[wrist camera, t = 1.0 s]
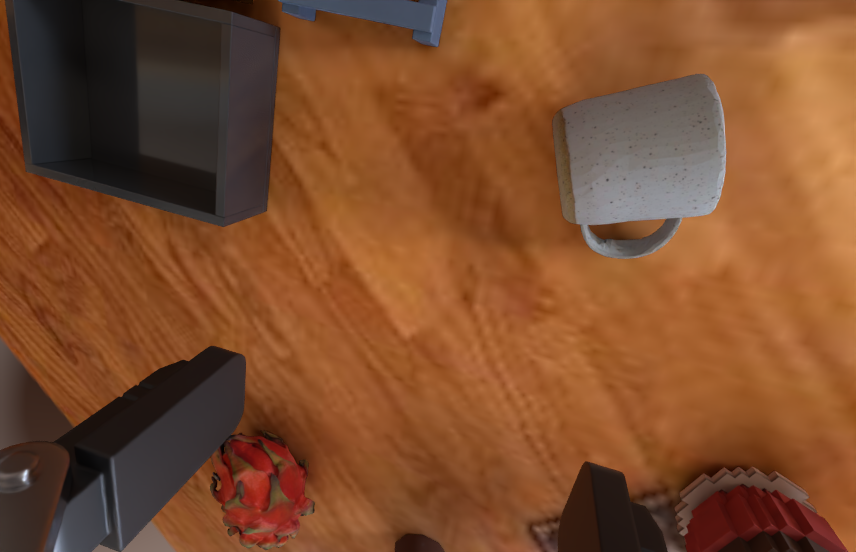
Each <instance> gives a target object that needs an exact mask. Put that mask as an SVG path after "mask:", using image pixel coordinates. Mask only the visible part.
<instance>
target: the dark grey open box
mask: <svg viewBox="0 0 856 552" xmlns="http://www.w3.org/2000/svg"><path fill="white" fill-rule="evenodd" d="M5 5H6V13H7V21H8V30H9V38H10V46H11V54H12V62H13V71H14V79H15V87H16V95H17V103H18V112H19V120H20V128H21V136H22V144H23V153H24V161H25V169H26V172H29V173H33V174H36V175H40V176H44V177H47V178H51V179H54V180H58V181H61V182H65V183H69V184H72V185H76V186H79V187H83V188H86V189H90V190H93V191H97V192H101V193H104V194H108V195H111V196H115V197H118V198H122V199H126V200H129V201H133V202H136V203H140V204H143V205H147V206H150V207H154V208H158V209H161V210H165V211H168V212H172V213H175V214H179V215H183V216H186V217H190V218H193V219H197V220H200V221H204V222H208V223H211V224H215V225H218V226H222V227H225V226H228V225H230V224H233V223H236V222H239V221H241V220H244V219H247V218H250V217H252V216H255V215H258V214H260V213H263V212H266V211H267V200H268V187H269V174H270V160H271V147H272V134H273V120H274V107H275V94H276V80H277V67H278V54H279V40H280V27H277V26H274V25H271V24H268V23H265V22H262V21H259V20H256V19H253V18H250V17H247V16H244V15H241V14H238V13H235V12H231V11H227V10H222V9H217V8H212V7H208V6H203V5H198V4H194V3H189V2H184V1H179V0H5Z"/></svg>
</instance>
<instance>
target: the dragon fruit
mask: <svg viewBox="0 0 856 552" xmlns="http://www.w3.org/2000/svg"><path fill="white" fill-rule="evenodd" d="M260 431H261V432H262V433H263V435H264V436H265V438H266V439H265V438H264V437H262V436H245V435H243V434H242V433H239V434H237V435H230V436H229V437H228V438H227V439H226V440H225V442H224V443H223V444H222V445H221V446H220V447H219V448H218V449H217V450H216V451H215V452H214V453H213V454H212V455H211V460H213V461H212V464H213V466H214V468H215V470H216V472H217V473H214V472H213V476H214V477H213V476H212V481H213V483H212V484H211V486H210V491H211V493H212V495H213V497H214V498H215V499H216V500H217V501H218V502H219V503H221V504H222V507H221V509H222V511H223V512H225V513H226V515H225V516H224V517H223V523H224V524H225V526H228V527H231V528H230V529H228V534H229V536H232V535H234V534H235V533H237V532H239V534H240V537H239V541H240V543H241V545H242V546H244V547H246V548H251V547H253V546H254V545H255V544H256V545H258V546H259V547H260V548H261V547H262V548H263V549H265V550H268V549H270V548H272V547H273V546H275V547H278V548H279V547H281V546H283V545H284V544H285V543H286V542H287V540H288V535H291V536H292V538H295V536H296V535H297V533H298V532H299V530H300V523H299V521H298V518H299V516H304V515H305V516H306V515H310V514H313V513H314V505H315V502H314V501H312V500H311V499H308V498H305V496H304V490H305V482H306V478H307V474H308V466H309V463H308V461H307V460H306V459H304V460H300V461H299V464H296V461H295V459H294V458H293V456H292V455H291V453H290V451H289V449H288V447H287V445H286V444H285V443H283V439H282V438H280V437H278V436H276V435H274V434H272V433H269V432H267V431H265V430H264V431H262V430H260ZM228 440H231V441H230V443H229V442H228ZM224 447H225V452H224ZM216 479H217V480H219V481H220V480H221V483H222V486H221V489H220V490H219V491H217V490H216V487H217V480H216Z"/></svg>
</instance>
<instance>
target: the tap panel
mask: <svg viewBox="0 0 856 552" xmlns="http://www.w3.org/2000/svg"><path fill="white" fill-rule="evenodd" d="M233 1H238V2H243V3H248V4H253V0H233Z"/></svg>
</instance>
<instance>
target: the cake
mask: <svg viewBox="0 0 856 552" xmlns="http://www.w3.org/2000/svg"><path fill="white" fill-rule="evenodd" d="M679 495H680V497H681V500H682V502H681V503H679V504H678V505H677V506H676V507H674V508H675V511H676V514H677V516H676V517H675V518H676V520H677V523H678V525H677V529H678V532H679V533H680V534H681V535H683V536H684V537H685V539H684V540H685V543H686V545H685V547H686V550H687V552H848V551H847V549H846V548H845V546H844V545H843V544H842V542H841V541H840V539H839V538H838V537H837V535H836V534H835V532H834V531H833V529H832V528H831V527H830V525H829V524H828V522H827V521H826V520H825V519H824V518H823V517H821V516H819V515H818V514H816V513H817V511H816V510H815V508H814V507H813V505H811V504H810V503H808V502H807V501H805V500H806V499H808V498H809V496H808V494H807V493H806V491H805V490H804V489H802V488H801V487H799V486H798V485H796V484H794V483H793V482H791V481H790V480H788V479H787V478H785V477H784V476H782V475H781V474H779V473H778V472H776V471H773V472H772V473H771V474H769V475H768V476H767V475H765V474H764V473H762V472H761V471H759V470H758V469H756V468H754V467H753V466H752V467H751V468H749V469H748V470H747V471H746V472H745V471H744V470H742V469H741V468H739V467H737V468H736V469H735V470H733V471H732V472H731V471H729V470H727V469H726V468H723V469H721V470H720V471H719V472H718V473H716V474H715V475H714V476H713V477H709V476H708V475H706V474H704V473H703V474H702V475H701V476H700V477H698V478H697V479H696V480H695V481H694V482H692V483H691V484H690V485H689V486H687V487H686V488H685V489H684V490H683V491H681V492H680V493H679Z"/></svg>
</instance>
